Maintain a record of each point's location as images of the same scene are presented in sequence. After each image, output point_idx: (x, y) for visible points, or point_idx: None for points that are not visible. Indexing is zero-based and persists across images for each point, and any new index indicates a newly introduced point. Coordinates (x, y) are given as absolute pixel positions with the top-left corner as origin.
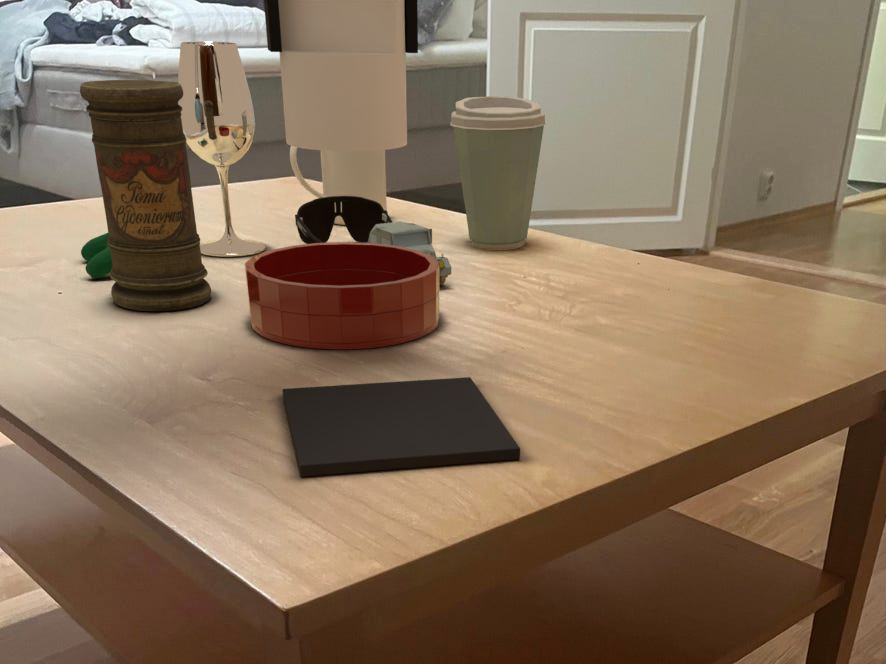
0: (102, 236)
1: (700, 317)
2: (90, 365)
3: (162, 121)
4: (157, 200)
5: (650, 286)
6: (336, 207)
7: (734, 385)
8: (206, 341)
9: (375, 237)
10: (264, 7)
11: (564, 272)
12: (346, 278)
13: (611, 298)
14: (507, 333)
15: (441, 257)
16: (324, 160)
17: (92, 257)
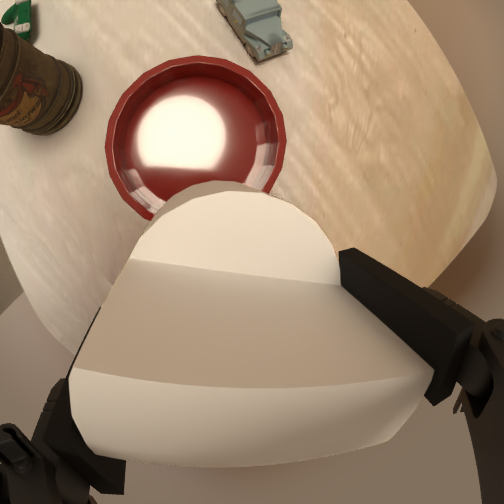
0: (9, 12)
1: (429, 157)
2: (44, 259)
3: None
4: (17, 115)
5: (418, 82)
6: None
7: (405, 277)
8: (94, 203)
9: (228, 2)
10: (81, 345)
11: (372, 31)
12: (195, 72)
13: (395, 103)
14: (319, 179)
15: (286, 39)
16: None
17: (8, 22)
